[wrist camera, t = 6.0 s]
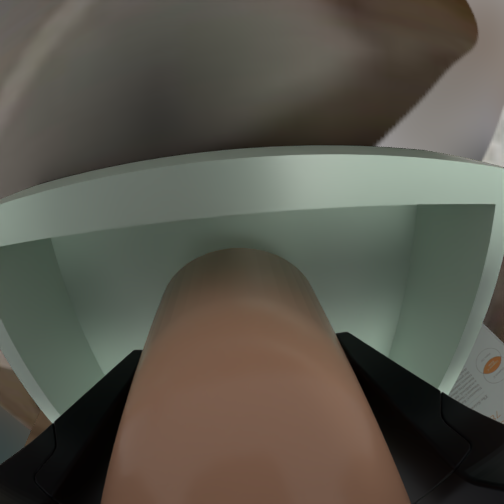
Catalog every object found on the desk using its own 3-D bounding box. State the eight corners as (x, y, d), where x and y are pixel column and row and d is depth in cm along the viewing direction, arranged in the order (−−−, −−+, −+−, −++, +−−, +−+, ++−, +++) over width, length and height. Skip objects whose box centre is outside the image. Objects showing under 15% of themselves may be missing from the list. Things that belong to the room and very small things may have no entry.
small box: (409, 420, 18) (464, 541, 5) (389, 393, 15) (461, 554, 3) (485, 360, 16) (560, 465, 4) (482, 318, 14) (588, 446, 2)
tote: (366, 424, 17) (388, 478, 12) (144, 444, 16) (135, 502, 11) (423, 150, 10) (515, 170, 5) (36, 185, 9) (-49, 222, 4)
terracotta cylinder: (320, 240, 8) (480, 471, 1) (312, 367, 10) (367, 543, 3) (143, 255, 8) (22, 499, 1) (178, 379, 10) (159, 560, 3)
